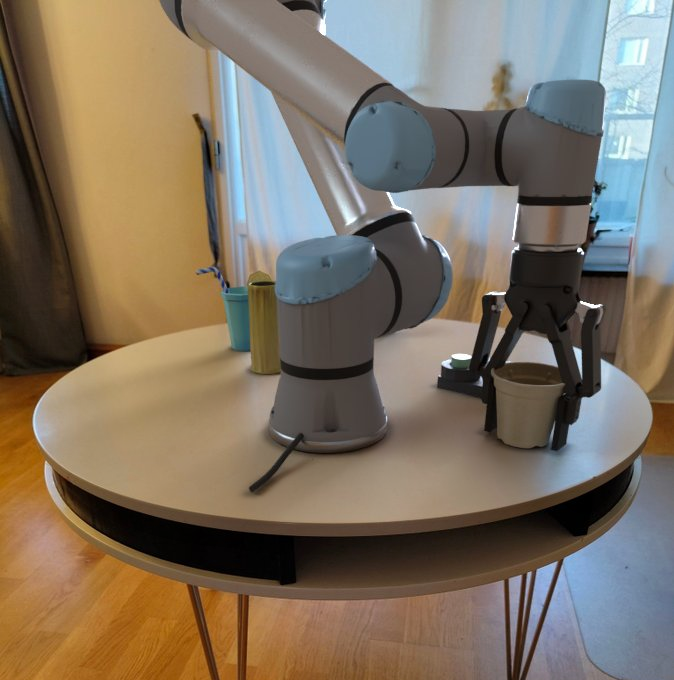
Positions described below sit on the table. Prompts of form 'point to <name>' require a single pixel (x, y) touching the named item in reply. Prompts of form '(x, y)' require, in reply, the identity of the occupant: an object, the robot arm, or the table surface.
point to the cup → (237, 308)
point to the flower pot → (526, 402)
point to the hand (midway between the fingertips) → (524, 437)
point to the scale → (460, 379)
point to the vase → (263, 327)
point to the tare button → (461, 360)
